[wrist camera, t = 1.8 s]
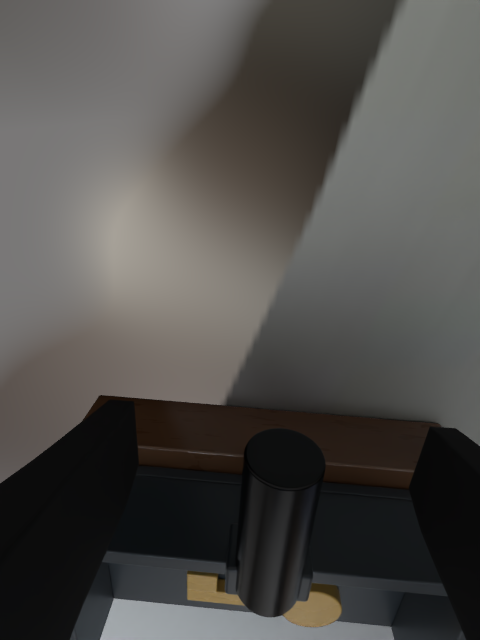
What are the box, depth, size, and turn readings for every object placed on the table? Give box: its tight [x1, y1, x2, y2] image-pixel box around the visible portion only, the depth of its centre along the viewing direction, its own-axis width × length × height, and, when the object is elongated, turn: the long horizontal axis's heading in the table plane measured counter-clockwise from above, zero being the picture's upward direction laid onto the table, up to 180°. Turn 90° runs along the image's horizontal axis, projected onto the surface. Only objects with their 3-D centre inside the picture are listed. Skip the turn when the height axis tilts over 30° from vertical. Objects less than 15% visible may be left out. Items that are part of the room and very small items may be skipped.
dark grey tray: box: [70, 428, 466, 640], centre depth 11 cm, size 11×12×4 cm
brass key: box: [187, 571, 342, 627], centre depth 14 cm, size 6×2×1 cm, turn 87°
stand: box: [83, 395, 441, 490], centre depth 14 cm, size 8×13×2 cm, turn 87°
